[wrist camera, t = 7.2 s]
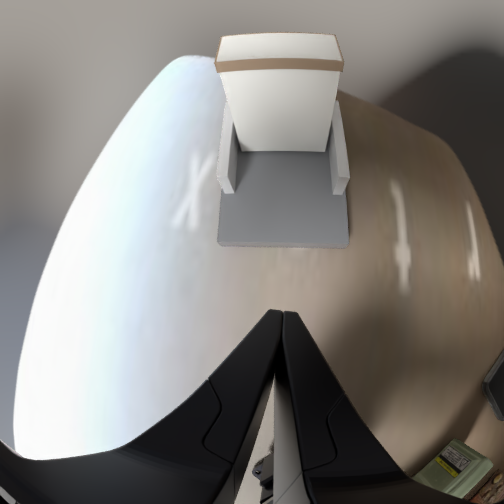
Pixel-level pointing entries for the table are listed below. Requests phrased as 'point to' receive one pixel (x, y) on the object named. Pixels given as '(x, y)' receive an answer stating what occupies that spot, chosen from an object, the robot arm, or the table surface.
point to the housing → (283, 193)
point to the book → (491, 490)
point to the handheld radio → (455, 469)
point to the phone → (495, 387)
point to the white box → (280, 88)
